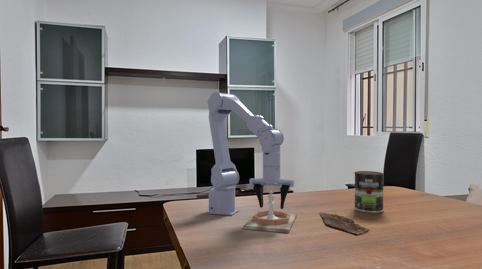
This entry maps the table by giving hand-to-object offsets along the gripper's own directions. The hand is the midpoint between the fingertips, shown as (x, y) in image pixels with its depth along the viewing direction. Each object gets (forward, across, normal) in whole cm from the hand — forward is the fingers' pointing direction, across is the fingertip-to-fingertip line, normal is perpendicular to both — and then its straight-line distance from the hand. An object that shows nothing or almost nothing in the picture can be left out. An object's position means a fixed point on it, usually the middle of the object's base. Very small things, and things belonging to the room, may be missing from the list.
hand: (271, 207), depth 104 cm
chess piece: (+4, 0, -1) cm, 4 cm away
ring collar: (+5, 0, 0) cm, 5 cm away
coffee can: (+5, +32, +27) cm, 42 cm away
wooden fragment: (+6, +21, +6) cm, 23 cm away
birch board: (+5, 0, 0) cm, 5 cm away
